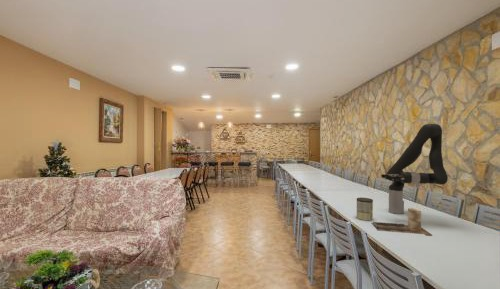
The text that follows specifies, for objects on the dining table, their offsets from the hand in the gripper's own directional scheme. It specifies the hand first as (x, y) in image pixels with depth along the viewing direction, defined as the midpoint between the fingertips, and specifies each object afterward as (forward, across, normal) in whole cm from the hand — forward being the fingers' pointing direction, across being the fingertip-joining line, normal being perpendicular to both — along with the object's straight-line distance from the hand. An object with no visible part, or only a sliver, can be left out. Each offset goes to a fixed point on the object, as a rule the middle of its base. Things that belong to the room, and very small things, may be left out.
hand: (383, 176), depth 165 cm
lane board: (-5, +15, +30) cm, 34 cm away
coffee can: (+11, -1, +30) cm, 32 cm away
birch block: (-13, +15, +29) cm, 35 cm away
